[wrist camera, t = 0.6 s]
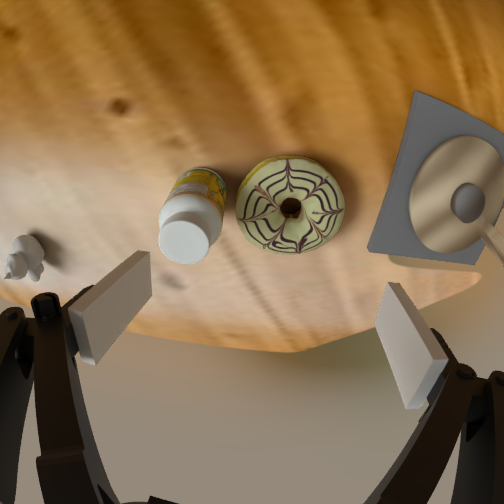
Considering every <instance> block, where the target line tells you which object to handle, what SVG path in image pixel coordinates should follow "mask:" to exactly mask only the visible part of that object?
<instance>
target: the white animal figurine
mask: <svg viewBox="0 0 504 504" xmlns="http://www.w3.org/2000/svg"><path fill="white" fill-rule="evenodd" d="M44 254H45V253H44V250H43V248H42V247H41V245H40V244H39V242H38V241H37V239H36V238H34V237H32V236H29V235H21V236H19V237H17V238H16V239H15V240H14V243H13V248H12V254H9V255H8V257H7V266H6V277H5V278H4V279H22V278H23V277H25V276H26V274H27V272H28V274H29V277H30V278H31V279H32V280H33V281H38V280H39V279H40V275H41V273H42V272H43V271H44V266H43V265H42V263H41V262H42V260H43V257H44Z"/></svg>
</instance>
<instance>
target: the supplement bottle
mask: <svg viewBox="0 0 504 504" xmlns="http://www.w3.org/2000/svg"><path fill="white" fill-rule="evenodd" d="M226 198H227V189H226V185H225V183H224V182H223V180H222V179H221V177H220V176H219V175H218V174H217V173H216V172H214V171H213V170H211V169H207V168H193V169H190V170H188V171H186V172H184V173H183V174H182V175H181V176H180V177H179V178H178V180H177V182H176V183H175V185H174V187H173V189H172V191H171V192H170V194H169V196H168V198H167V200H166V201H165V203H164V205H163V207H162V209H161V212H160V215H159V227H160V233H159V237H158V242H159V247H160V249H161V251H162V252H163V254H164V255H165V256H166V257H168V258H169V259H170V260H172V261H174V262H176V263H180V264H194V263H197V262H199V261H201V260H202V259H203V258H204V257H205V256H206V255H207V253H208V251H209V248H210V246H211V245H213V244H214V243H215V242H216V240H217V239H218V237H219V235H220V232H221V229H222V223H223V216H224V210H225V204H226Z"/></svg>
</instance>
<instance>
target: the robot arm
mask: <svg viewBox="0 0 504 504" xmlns="http://www.w3.org/2000/svg"><path fill="white" fill-rule="evenodd" d="M151 296H152V286H151V268H150V252H146V251H139V250H138V251H136V252H135V253H134V254H133V255H131V256H130V257H129V258H128V259H126V260H125V261H124V262H122V263H121V264H120V265H119V266H117V267H116V268H115V269H114V270H113V271H111V272H110V273H109V274H108V275H106V276H105V277H104V278H103V279H102V280H100V281H99V282H98V283H97V284H96V285H91V286H89V287H86V288H84V289H83V290H81V291H80V292H79V293H78V295H75V296H74V297H73V299H71V300H69V301H68V302H67V303H66V304H65V305H64V306H62V307H61V306H60V302H59V298H58V295H57V294H55V293H51V292H45V293H41V294H38V295H36V296H35V297H34V298H33V299H32V300H31V306H32V309H33V313H34V316H35V318H26V317H25V314H24V311H23V309H22V308H20V307H10V308H7V309H6V310H5V311H3V312H2V313H1V314H0V504H14V501H15V494H16V484H17V472H18V462H19V454H20V446H21V439H22V433H23V427H24V421H25V417H26V412H27V407H28V402H29V398H30V394H31V390H32V385H33V382H34V391H35V407H36V417H37V426H38V435H39V442H40V448H41V456H39V457H37V458H36V466H37V472H38V477H39V482H40V487H41V491H42V495H43V499H44V503H45V504H120V503H119V501H118V499H117V497H116V495H115V494H114V492H113V490H112V488H111V486H110V483H109V480H108V478H107V475H106V472H105V470H104V467H103V464H102V462H101V458H100V455H99V452H98V449H97V446H96V443H95V440H94V436H93V433H92V430H91V426H90V423H89V419H88V415H87V411H86V407H85V403H84V398H83V394H82V390H81V385H80V380H79V375H78V370H77V364H76V360H75V357H74V356H75V355H76V353H77V352H78V351H79V353H80V356H81V360H82V361H83V362H86V363H89V364H92V365H95V366H96V365H97V363H98V362H99V361H100V360H101V358H102V357H103V356H104V354H105V353H106V352H107V351H108V349H109V348H110V347H111V345H112V344H113V343H114V342H115V340H116V339H117V338H118V337H119V335H120V334H121V333H122V332H123V330H124V329H125V328H126V327H127V325H128V324H129V323H130V322H131V320H132V319H133V318H134V317H135V316H136V314H137V313H138V312H139V311H140V309H141V308H142V307H143V306H144V305H145V303H146V302H147V301H148V300H149V299H150V297H151ZM374 325H375V327H376V330H377V332H378V334H379V337H380V339H381V342H382V345H383V347H384V350H385V353H386V355H387V358H388V361H389V363H390V366H391V369H392V371H393V374H394V377H395V380H396V382H397V385H398V388H399V391H400V394H401V397H402V400H403V403H404V406H405V409H415V408H421V406H422V405H423V403H424V402H425V400H426V399H427V400H428V403H429V406H428V408H427V409H426V411H425V412H424V414H423V415H422V417H421V418H420V420H419V424H418V425H417V427H416V429H415V431H414V432H413V434H412V436H411V437H410V439H409V441H408V442H407V444H406V445H405V447H404V449H403V450H402V452H401V453H400V455H399V456H398V458H397V459H396V461H395V462H394V464H393V465H392V467H391V468H390V470H389V471H388V472H387V474H386V475H385V477H384V478H383V479H382V481H381V482H380V483H379V485H378V486H377V487H376V488H375V490H374V491H373V492H372V494H371V495H370V496H369V497H368V499H367V500H366V501H365V503H364V504H427V502H428V500H429V498H430V497H431V495H432V493H433V491H434V489H435V487H436V486H437V484H438V481H439V480H440V478H441V475H442V473H443V471H444V469H445V467H446V465H447V463H448V461H449V458H450V456H451V454H452V451H453V449H454V446H455V444H456V441H457V439H458V436H459V434H460V431H461V441H460V450H459V458H458V466H457V473H456V478H455V484H454V490H453V495H452V499H451V504H504V372H501V371H493V372H492V373H491V375H490V376H489V378H488V379H484V378H479V377H477V375H476V373H475V371H474V370H473V369H472V368H471V367H469V366H468V365H465V364H462V363H458V361H457V359H456V358H455V356H454V355H453V354H452V351H451V350H450V348H448V345H447V344H446V342H445V340H444V339H443V337H442V336H441V334H440V333H438V332H437V331H436V330H435V329H433V328H429V327H428V325H427V324H426V322H425V320H424V319H423V317H422V316H421V314H420V313H419V311H418V310H417V308H416V307H415V305H414V304H413V302H412V301H411V299H410V298H409V296H408V295H407V293H406V292H405V291H404V289H403V288H402V286H401V285H400V283H392V282H387V285H386V288H385V292H384V295H383V298H382V302H381V305H380V308H379V311H378V314H377V317H376V320H375V323H374ZM122 504H178V503H174V502H170V501H167V500H163V499H160V498H156V497H153V496H150V498H149V500H148V502H128V503H122Z"/></svg>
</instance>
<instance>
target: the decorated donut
mask: <svg viewBox="0 0 504 504" xmlns="http://www.w3.org/2000/svg"><path fill="white" fill-rule="evenodd" d="M292 197H293V198H296V199H298V200H299V201H300V202H301V206H302V207H301V209H300V210H299V211H298V212H296V213H293V214H291V213H290V214H288V213H284V212H283V211H281V209H280V206H281V203H282V202H283V201H284V200H285V199H286V198H292ZM344 202H345V201H344V196H343V193H342V192H341V190H340V187H339V185H338V183H337V181H336V180H335V179H334V177H333V176H332V175H331V173H330V172H329V171H327V170H326V169H325V168H324V167H323V166H322V165H320V164H319V163H318V162H315V161H314V160H312V159H310V158H307V157H304V156H297V155H284V156H276V157H271V158H269V159H266V160H264V161H262V162H261V163H259V164H258V165H257V166H256V167H255V168H254V169H253V170H252V171H251V172H250V173H249V174H248V175H247V176H246V178H245V179H244V180H243V182H242V183H241V185H240V187H239V189H238V192H237V195H236V219H237V222H238V224H239V226H240V228H241V230H242V232H243V233H244V235H245V236H246V240H247V241H248V242H250V243H251V244H253V245H256V246H259V248H260V249H261V250H263V251H268V252H274V253H278V254H287V255H292V254H301V253H305V252H309V251H312V250H315V249H317V248H318V247H320V246H322V245H323V244H325V243H326V242H328V241H329V240H330V239H331V238H332V237H333V236H334V235H335V234H336V233H337V232H338V231H339V229H340V227H341V223H342V220H343V217H344V212H345V204H344Z"/></svg>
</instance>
